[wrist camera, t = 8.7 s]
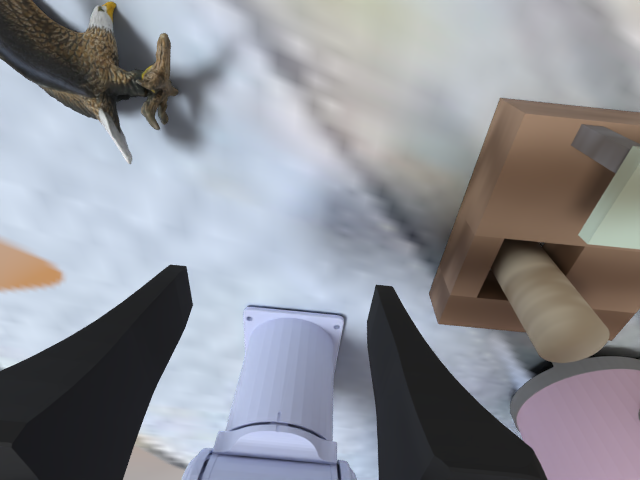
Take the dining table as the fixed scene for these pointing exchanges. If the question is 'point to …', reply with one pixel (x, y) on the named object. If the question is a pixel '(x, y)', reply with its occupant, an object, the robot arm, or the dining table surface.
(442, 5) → the dining table surface
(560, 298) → the peg
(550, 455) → the blender
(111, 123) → the eagle figurine
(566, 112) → the socket deck
